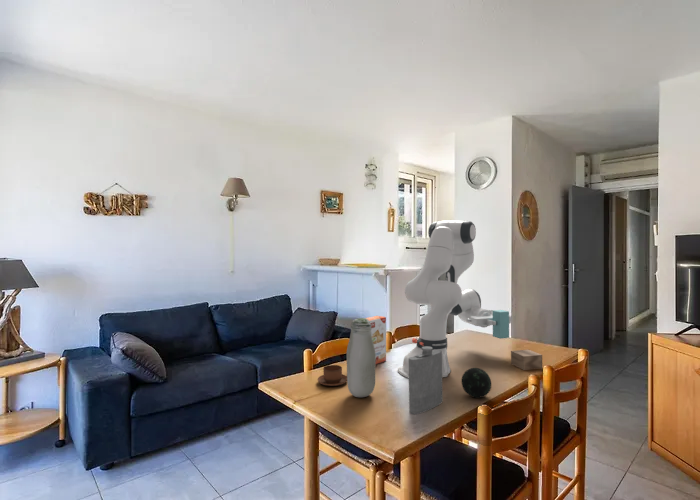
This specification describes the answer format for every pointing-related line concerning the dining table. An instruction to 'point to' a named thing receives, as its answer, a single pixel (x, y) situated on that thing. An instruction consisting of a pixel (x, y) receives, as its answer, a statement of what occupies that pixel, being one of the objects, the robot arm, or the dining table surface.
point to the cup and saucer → (332, 376)
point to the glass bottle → (361, 359)
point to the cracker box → (379, 337)
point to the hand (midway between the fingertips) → (502, 322)
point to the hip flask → (425, 380)
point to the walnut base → (526, 359)
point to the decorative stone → (476, 382)
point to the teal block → (501, 324)
